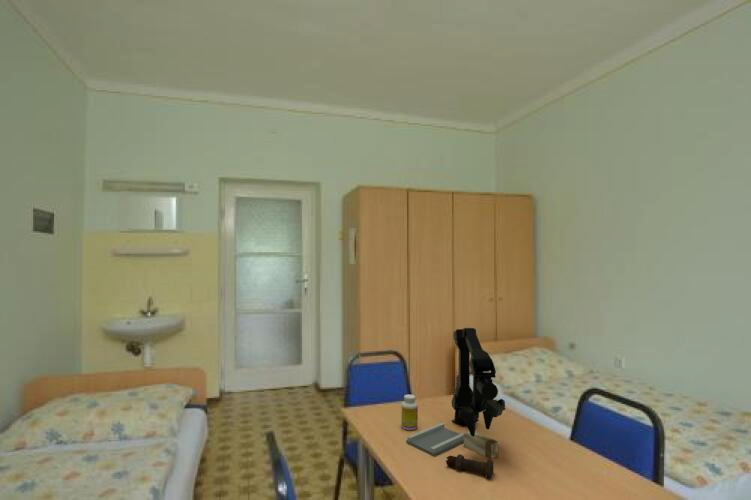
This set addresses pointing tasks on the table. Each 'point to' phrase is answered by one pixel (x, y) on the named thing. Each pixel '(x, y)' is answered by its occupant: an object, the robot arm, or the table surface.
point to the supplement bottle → (409, 413)
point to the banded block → (481, 445)
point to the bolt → (471, 465)
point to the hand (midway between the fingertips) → (480, 432)
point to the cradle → (435, 440)
